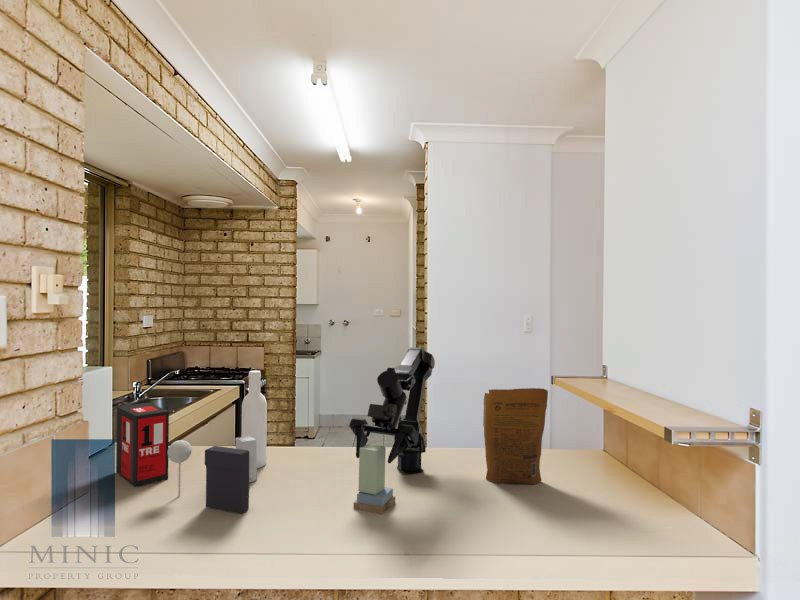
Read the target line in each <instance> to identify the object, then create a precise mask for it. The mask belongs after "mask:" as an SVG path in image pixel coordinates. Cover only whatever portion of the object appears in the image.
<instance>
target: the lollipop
mask: <svg viewBox="0 0 800 600" xmlns="http://www.w3.org/2000/svg"><path fill="white" fill-rule="evenodd" d="M191 445H192V444H190V443H189V441H186V440H184V439H183V440H182V439H180V440H175V441H173V442H172V443H171V444H170V446H168V452H167V453H168V460H170V461H171V462H173V463H175V464H178V484H177V485H178V490H177V491H178V492H177V494H178V495H177V497H179V498H180V497H181V469H182V468H181V466H182V464H181V463H184V462H186V461H187V460H188V459H189V458H190V457H191V455H192V452H193V450H192V449H193V448H192V446H191Z"/></svg>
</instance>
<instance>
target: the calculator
mask: <svg viewBox="0 0 800 600" xmlns="http://www.w3.org/2000/svg"><path fill="white" fill-rule="evenodd" d="M204 465H205V507H206V508H208V509H212V510H218V511H224V512H229V513H234V514H240V515H241V514H243V513H245V512H246V511H248V510H249V508H250V507H249V506H250V505H249V504H250V482H249V451H248V450H242V449H236V447H234V448H233V447H227V446H226V447H225V446H220V445H219V446H218V445H213V446H210V447H209V448H206V449H205V450H204Z"/></svg>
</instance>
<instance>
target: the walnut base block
mask: <svg viewBox="0 0 800 600" xmlns="http://www.w3.org/2000/svg"><path fill="white" fill-rule="evenodd" d="M395 503H396V496H395V495H393V497H392V498H391V499H390V500H389V501H388V502H387V503H386V504H385V505H384V506H383V507H380V506H374V505H369V504H363V503H357V499H356V500H354V501H353V509H356V510H360V511H365V512H369V513H374V514H377V515H382V514H383V513H385V512H386V511H387V510H388V509H389V508H391V507H392V506H393V505H394V504H395ZM391 505H392V506H391ZM390 506H391V507H390Z"/></svg>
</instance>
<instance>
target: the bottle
mask: <svg viewBox="0 0 800 600" xmlns="http://www.w3.org/2000/svg"><path fill="white" fill-rule="evenodd" d="M261 378H262V374H261V371H260V370H250V371H249V372H248V393H247V394H246V395H245V396H244V398H243V400H242V403H241V437H242V436H250V437H252V438H254V439H256V454H257V469H260V468H262V467H265V466H266V465H267V459H268V458H267V457H268V456H267V441H268V440H267V438H268V437H267V436H268V435H267V433H268V432H267V430H268V429H267V427H268V426H267V423H268V422H267V421H268V418H267V416H268V413H267V411H268V403H267V399H266V397H265V395H264V394H262V392H261Z"/></svg>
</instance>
